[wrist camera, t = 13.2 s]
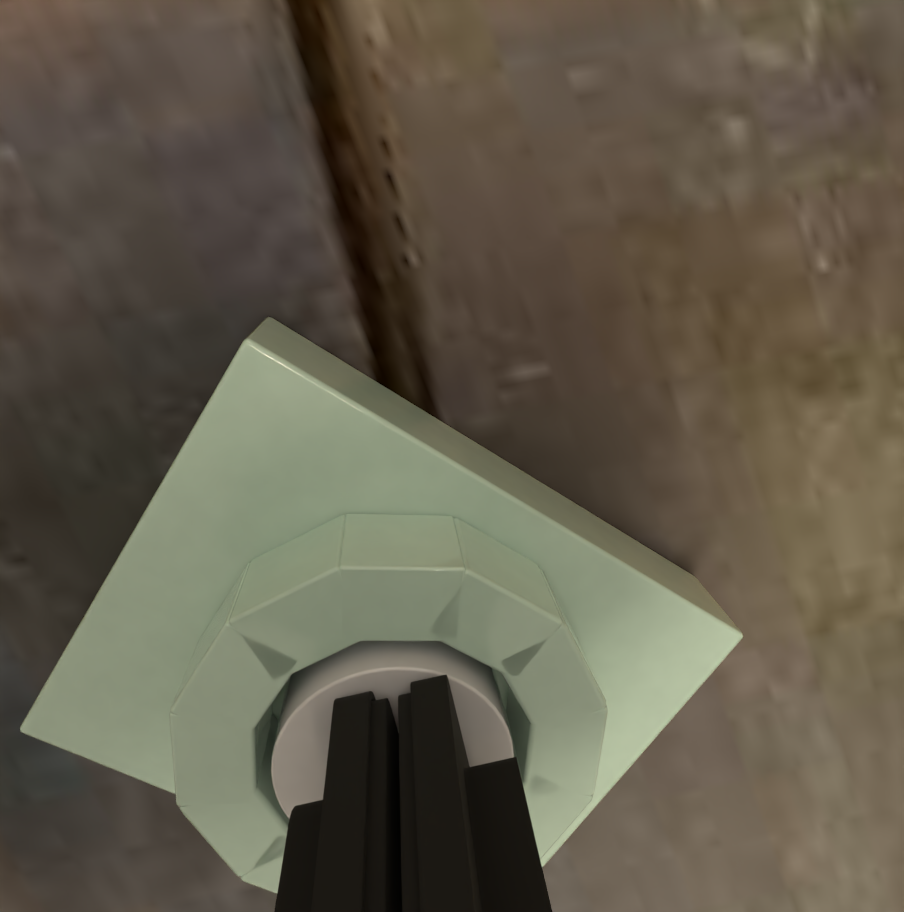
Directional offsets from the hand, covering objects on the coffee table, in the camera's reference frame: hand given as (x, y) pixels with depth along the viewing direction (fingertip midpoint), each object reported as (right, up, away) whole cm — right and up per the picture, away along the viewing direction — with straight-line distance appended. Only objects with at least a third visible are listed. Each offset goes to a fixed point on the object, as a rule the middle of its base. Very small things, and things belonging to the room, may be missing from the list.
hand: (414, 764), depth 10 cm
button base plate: (-1, +1, +4) cm, 4 cm away
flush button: (0, 0, +2) cm, 2 cm away
